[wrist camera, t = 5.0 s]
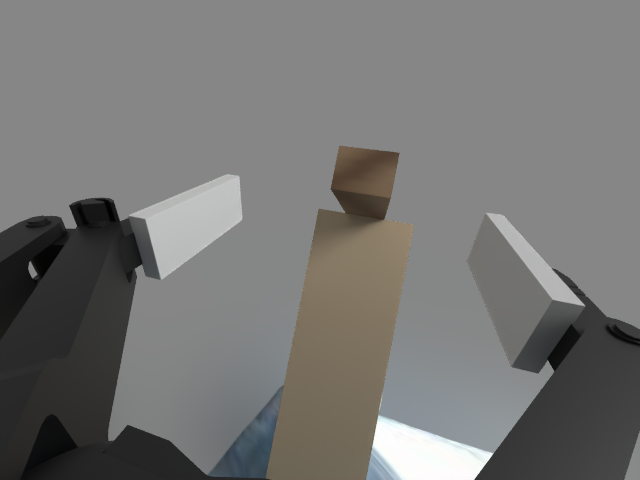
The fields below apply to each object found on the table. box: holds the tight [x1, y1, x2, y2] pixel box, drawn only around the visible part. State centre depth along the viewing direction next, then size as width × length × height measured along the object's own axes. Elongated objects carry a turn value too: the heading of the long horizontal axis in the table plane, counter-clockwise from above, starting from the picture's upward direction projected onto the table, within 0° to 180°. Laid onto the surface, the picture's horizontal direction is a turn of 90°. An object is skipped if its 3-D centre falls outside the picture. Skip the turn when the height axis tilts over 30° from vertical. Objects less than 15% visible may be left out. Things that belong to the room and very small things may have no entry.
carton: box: [266, 209, 414, 480], centre depth 33 cm, size 10×11×36 cm
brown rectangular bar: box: [331, 146, 399, 220], centre depth 31 cm, size 4×27×3 cm, turn 169°
